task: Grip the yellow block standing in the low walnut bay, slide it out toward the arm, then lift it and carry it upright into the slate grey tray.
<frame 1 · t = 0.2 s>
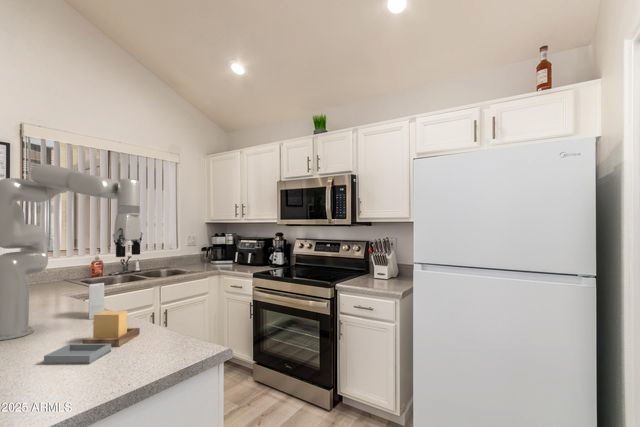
hand: (128, 255, 122), 30 cm above the counter, tool pointing down, fingers open, 9 cm apart
skincare box: (96, 316, 147), on the counter
walnut bay: (110, 340, 116), on the counter
yellow block: (109, 326, 116), in the walnut bay
grey tray: (78, 357, 101), on the counter
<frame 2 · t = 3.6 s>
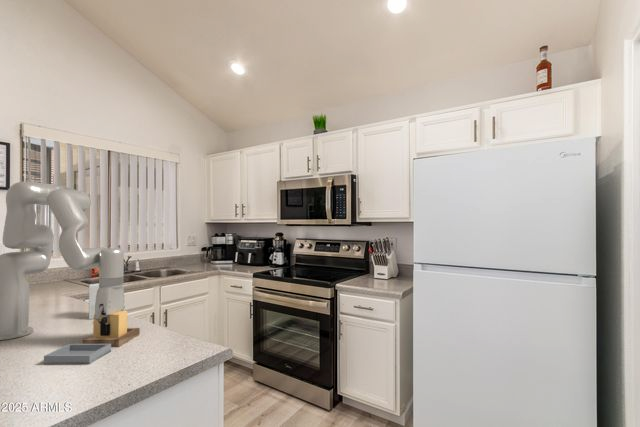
hand: (110, 332, 116), 3 cm above the counter, tool pointing down, fingers closed on yellow block, 5 cm apart
yellow block: (109, 326, 116), in the walnut bay, touching gripper
everything else where it was.
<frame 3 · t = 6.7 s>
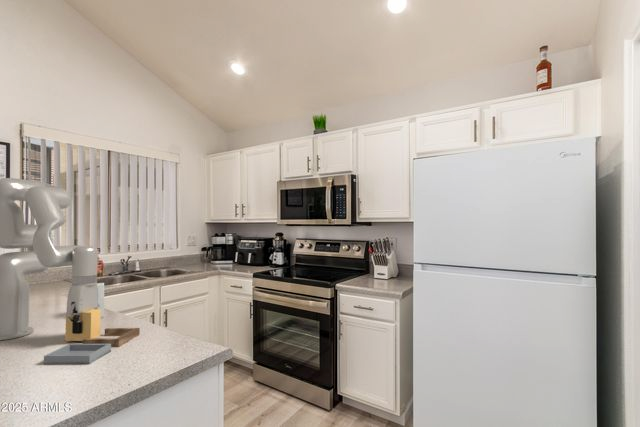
hand: (83, 330, 116), 4 cm above the counter, tool pointing down, fingers closed on yellow block, 5 cm apart
yellow block: (82, 324, 116), point 6 cm above the counter, touching gripper
everything else where it was.
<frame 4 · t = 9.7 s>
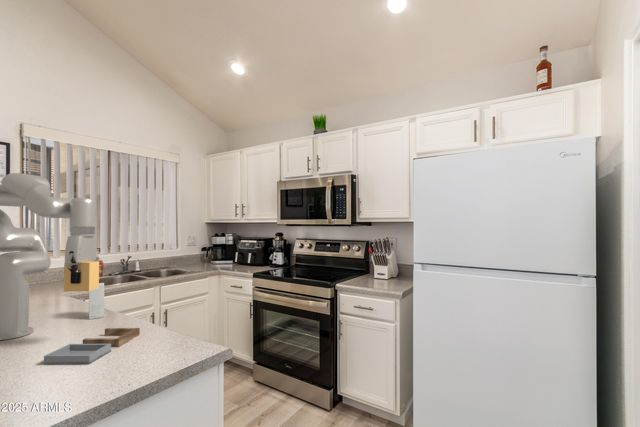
hand: (81, 281, 116), 21 cm above the counter, tool pointing down, fingers closed on yellow block, 5 cm apart
yellow block: (80, 275, 116), point 24 cm above the counter, touching gripper
everything else where it was.
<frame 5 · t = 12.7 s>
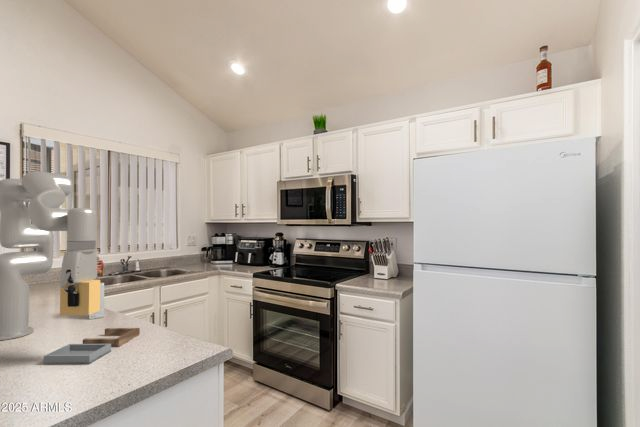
hand: (80, 303, 102), 17 cm above the counter, tool pointing down, fingers closed on yellow block, 5 cm apart
yellow block: (79, 297, 102), point 19 cm above the counter, touching gripper
everything else where it was.
when the fingers open (5 cm above the counter, at t = 15.7 s): yellow block drops 1 cm, resting on grey tray.
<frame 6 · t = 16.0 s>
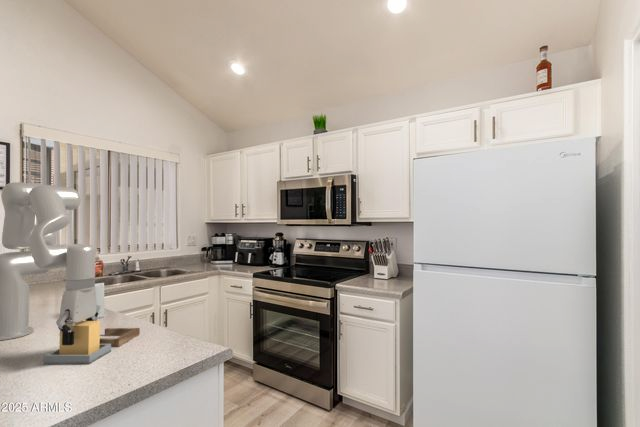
hand: (79, 339, 101), 6 cm above the counter, tool pointing down, fingers open, 8 cm apart
yellow block: (79, 339, 102), in the grey tray, point 6 cm above the counter
everything else where it was.
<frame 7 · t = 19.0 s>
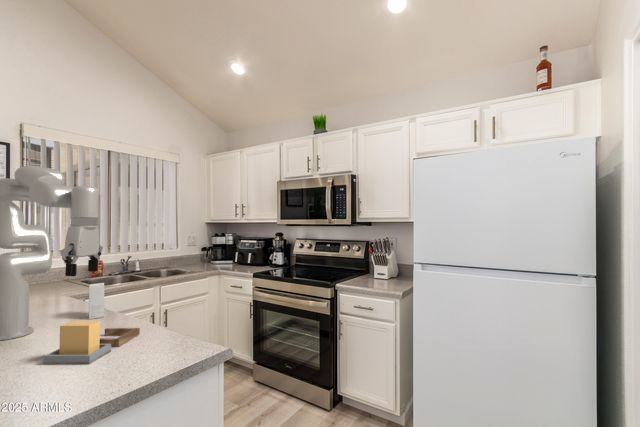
hand: (82, 273, 108), 26 cm above the counter, tool pointing down, fingers open, 9 cm apart
nothing on the counter moved.
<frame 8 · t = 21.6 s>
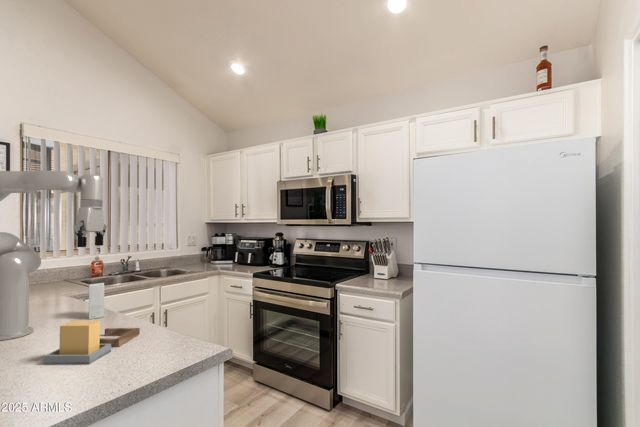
hand: (90, 246, 131), 33 cm above the counter, tool pointing down, fingers open, 9 cm apart
nothing on the counter moved.
at the end: yellow block 0.3 cm off-centre on the grey tray, point 5.6 cm above the grey tray's base; yellow block tilted 0°; the gripper is holding nothing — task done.
